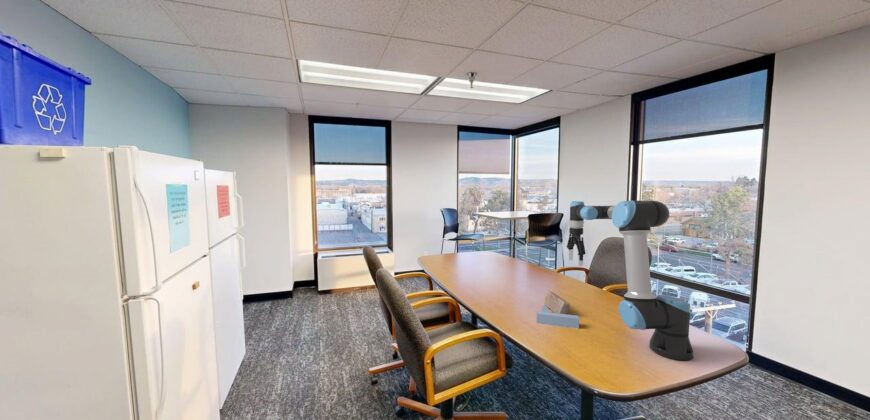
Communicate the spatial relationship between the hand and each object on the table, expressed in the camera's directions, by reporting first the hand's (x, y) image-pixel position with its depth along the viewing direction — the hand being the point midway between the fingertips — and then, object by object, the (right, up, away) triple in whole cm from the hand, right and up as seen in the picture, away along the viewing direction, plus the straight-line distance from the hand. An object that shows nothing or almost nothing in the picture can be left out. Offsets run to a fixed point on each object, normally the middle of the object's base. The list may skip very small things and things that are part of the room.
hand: (575, 262), depth 193 cm
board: (-20, -27, -23) cm, 41 cm away
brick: (-16, -26, -11) cm, 32 cm away
